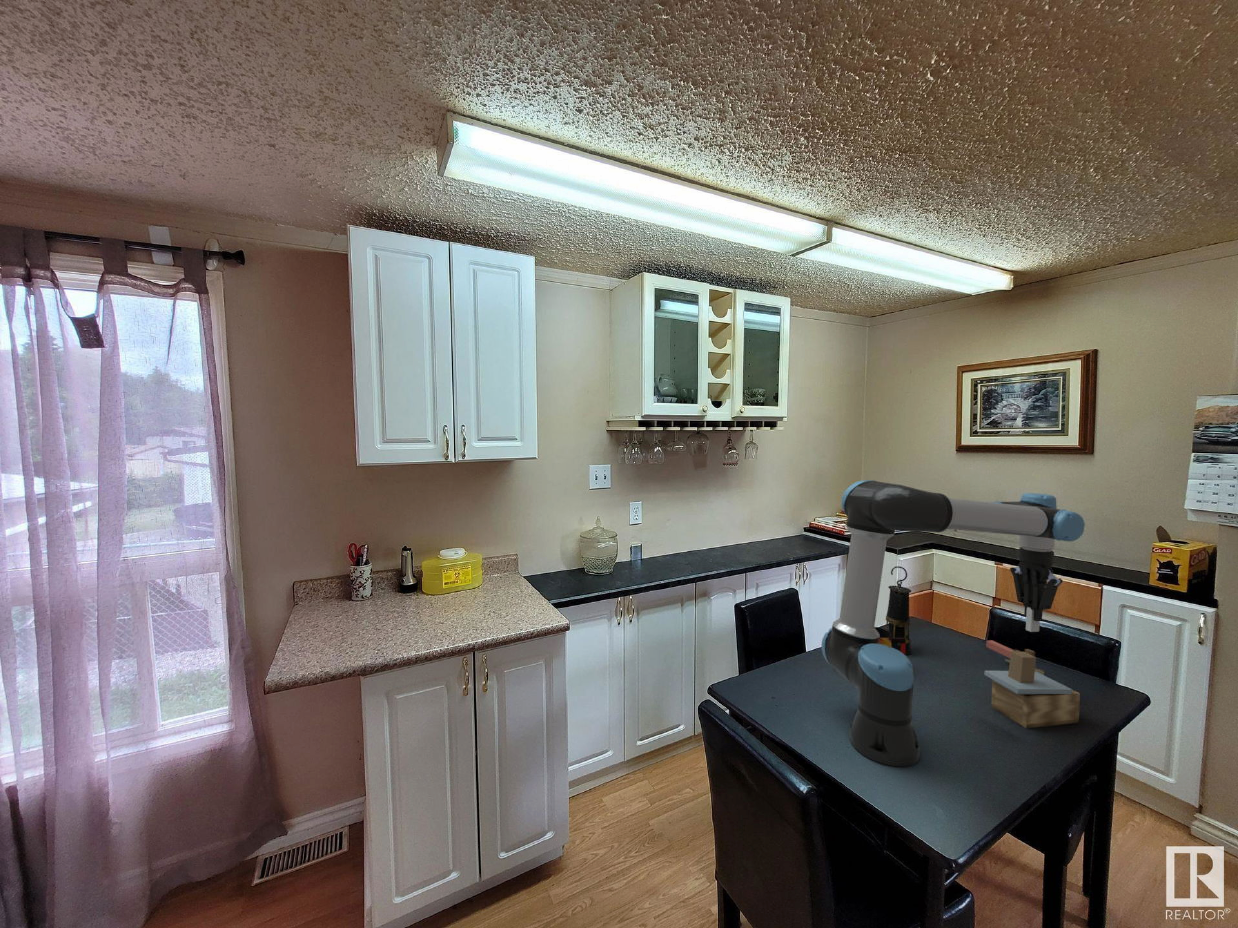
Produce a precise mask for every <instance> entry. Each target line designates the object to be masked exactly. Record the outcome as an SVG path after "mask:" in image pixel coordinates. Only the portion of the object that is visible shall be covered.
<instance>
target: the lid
mask: <svg viewBox="0 0 1238 928" xmlns="http://www.w3.org/2000/svg"><path fill="white" fill-rule="evenodd" d="M1009 661H1010V662H1009V666H1008V667H1009V668H1008V670H984V674H983V675H984V676H986V677H987V678H990V679H991V680H992V679H993V681H994V682H996V683H998V684H1000V685H1001V686H1003V687H1005V688H1007V689H1008V690H1010V691H1012V692H1014V693H1015V694H1022V695H1044V694H1072V690H1073V689H1072V688H1070V687H1068V686H1066V685H1064V684H1062V683H1061V682H1058V681H1056V680H1055V679H1054V680H1053V679H1052V678H1050V677H1048V676H1046V675H1045V674H1044V675H1045V676H1044V675H1042V674H1040V673H1038V672H1036V671H1035V668H1036V664H1037V663H1036V662H1037V657H1036V656H1035V657H1034V656H1032V655H1030V654H1028V653H1025V651H1021V652H1011V655H1010V658H1009Z"/></svg>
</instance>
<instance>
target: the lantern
mask: <svg viewBox="0 0 1238 928" xmlns="http://www.w3.org/2000/svg"><path fill="white" fill-rule="evenodd" d="M895 569H902V570H903V571H904V574H905V576H904V578H903V579H898V580H897V581H896V585H888V587H887V588H888V589H889V596H888V604H887V605H888V606H887V612H886V615H885V621H886V626H885V630H887V631H889V632H890V633H891V634H892V638H905V639H906V642H905V656H909V655H910V654H912V649H911V642H912V639H911V638H910V625H911V620H910V594H911V593H912V590H911V589H910V588H908V587H905V586H902V585H903V582H904V581H905V580H906V579H907V578H908V572H907V570H906V569H905V567H903V566H898V565H897V566H894V567H893V568H892V569H891V571H890V575H892V576H893V573H894V572H893V571H894V570H895ZM899 582H900V583H899ZM892 648H894V649H896V650H898V651H900V652H901V644H892Z"/></svg>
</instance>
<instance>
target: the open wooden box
mask: <svg viewBox="0 0 1238 928" xmlns="http://www.w3.org/2000/svg"><path fill="white" fill-rule="evenodd" d="M991 680H992V681H991V682H992V683H991V684H992V685H991V706H990V707H991V708H992V709H994V710H996V711H997V712H999V713H1001V714H1002V715H1004V716H1006V717H1007V718H1009V719H1010V720H1012V721H1014V722H1015V723H1017V724H1019V725H1020V726H1022V727H1023V728H1025V729H1032V728H1040V727H1041V728H1042V727H1051V726H1059V725H1068V724H1076V723H1077V724H1078V723H1080V722H1079V719H1080V699H1081V698H1080V697H1081V693H1080V692H1077V691H1076V690H1074V689H1072V694H1044V695H1022V694H1015V693H1014V692H1012V691H1010V690H1008V689H1007V688H1005V687H1003V686H1001V685H1000V684H998V683H996V682H994V681H993V679H991Z"/></svg>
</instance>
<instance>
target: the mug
mask: <svg viewBox="0 0 1238 928" xmlns="http://www.w3.org/2000/svg"><path fill="white" fill-rule="evenodd" d="M874 628H875V629H876V630H877V632H878V633H879V635H880V637H879V644H882V645H886V646H888V647H889V648H892V644H901V653H903V654H904V655H905V642H906V639H905V638H892V634H891V633H890V632H889V630H888V629H887V630H886V628H885V629H884V628H882V627H877V626H874ZM905 656H906V655H905Z"/></svg>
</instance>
